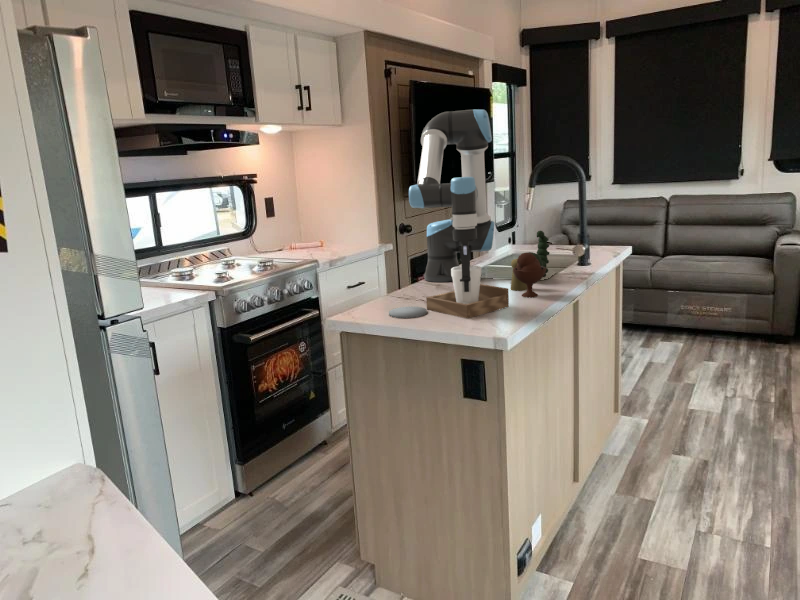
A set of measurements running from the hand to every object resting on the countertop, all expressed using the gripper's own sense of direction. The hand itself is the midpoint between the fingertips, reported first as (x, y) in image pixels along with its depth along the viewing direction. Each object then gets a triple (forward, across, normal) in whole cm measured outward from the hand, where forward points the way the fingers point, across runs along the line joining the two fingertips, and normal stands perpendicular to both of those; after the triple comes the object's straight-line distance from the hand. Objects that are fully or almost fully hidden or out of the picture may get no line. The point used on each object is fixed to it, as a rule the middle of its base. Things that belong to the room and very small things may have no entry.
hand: (467, 298), depth 197 cm
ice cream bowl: (+4, -15, +21) cm, 26 cm away
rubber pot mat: (+3, +5, -19) cm, 20 cm away
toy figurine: (+4, -45, +25) cm, 52 cm away
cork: (+4, -26, +18) cm, 32 cm away
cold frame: (+3, 0, 0) cm, 3 cm away
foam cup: (+4, 0, 0) cm, 4 cm away
